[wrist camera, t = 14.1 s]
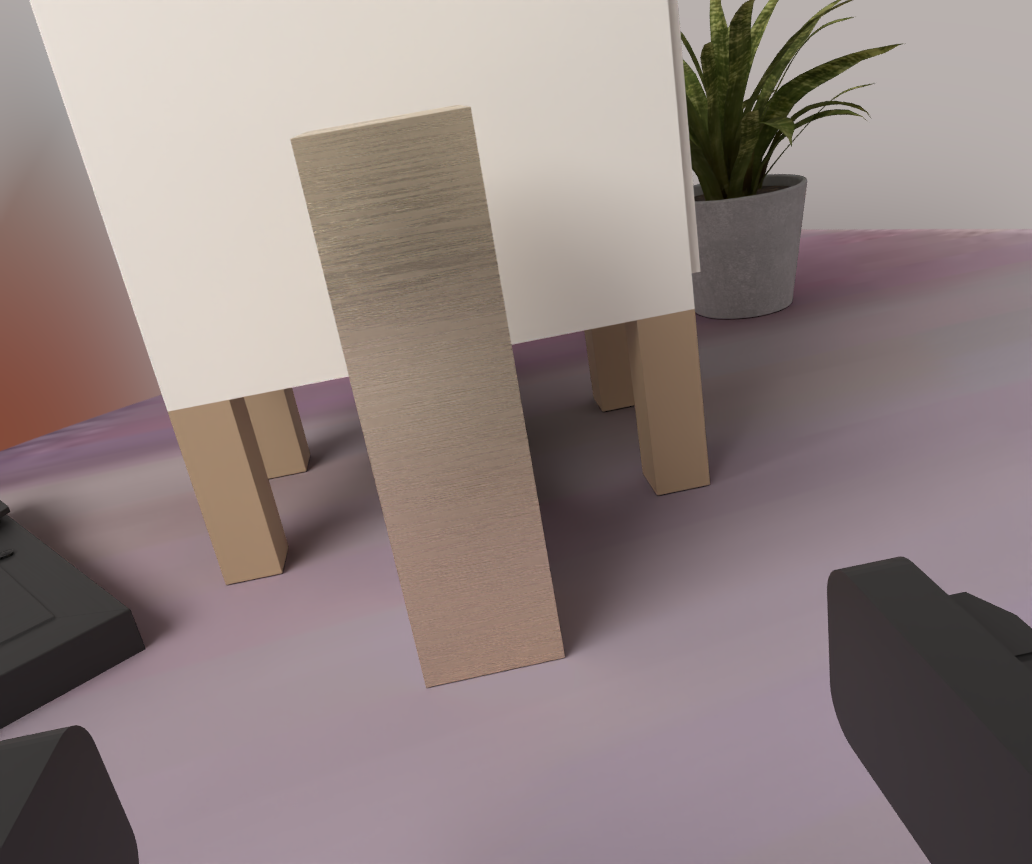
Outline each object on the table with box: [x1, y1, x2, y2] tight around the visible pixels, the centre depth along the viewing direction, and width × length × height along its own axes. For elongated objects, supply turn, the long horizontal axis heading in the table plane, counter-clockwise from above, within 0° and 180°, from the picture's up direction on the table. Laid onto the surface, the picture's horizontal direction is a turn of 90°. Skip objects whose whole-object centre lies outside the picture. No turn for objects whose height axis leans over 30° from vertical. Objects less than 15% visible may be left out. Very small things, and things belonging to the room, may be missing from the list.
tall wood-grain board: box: [290, 105, 565, 688], centre depth 28 cm, size 4×20×13 cm, turn 7°
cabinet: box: [29, 0, 710, 585], centre depth 29 cm, size 18×11×21 cm, turn 97°
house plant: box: [680, 0, 901, 319], centre depth 43 cm, size 14×14×16 cm
